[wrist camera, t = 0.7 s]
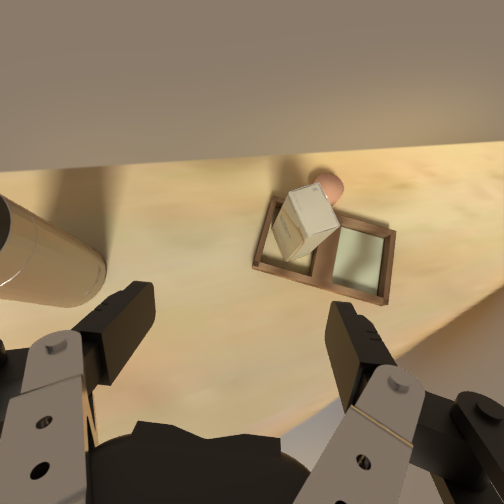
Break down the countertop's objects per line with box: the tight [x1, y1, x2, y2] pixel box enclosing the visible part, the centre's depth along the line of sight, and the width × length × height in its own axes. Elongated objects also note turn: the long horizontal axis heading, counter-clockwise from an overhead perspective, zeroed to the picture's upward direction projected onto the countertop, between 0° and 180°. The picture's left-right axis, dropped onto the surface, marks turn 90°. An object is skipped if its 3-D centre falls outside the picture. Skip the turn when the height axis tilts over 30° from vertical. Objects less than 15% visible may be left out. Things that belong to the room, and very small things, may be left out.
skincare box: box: [272, 182, 340, 262], centre depth 36 cm, size 6×4×12 cm
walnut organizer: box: [252, 196, 396, 306], centre depth 41 cm, size 21×12×2 cm, turn 74°
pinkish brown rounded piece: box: [313, 173, 344, 207], centre depth 43 cm, size 5×5×3 cm
